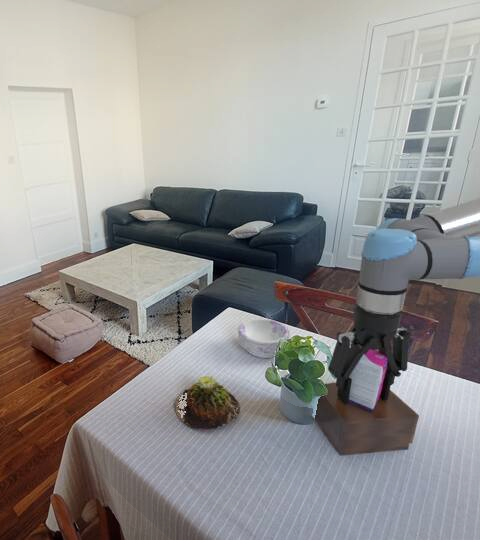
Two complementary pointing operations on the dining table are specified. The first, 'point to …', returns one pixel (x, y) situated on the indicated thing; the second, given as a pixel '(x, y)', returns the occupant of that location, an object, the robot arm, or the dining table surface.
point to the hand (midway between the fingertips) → (361, 397)
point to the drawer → (415, 419)
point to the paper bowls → (262, 336)
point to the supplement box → (368, 379)
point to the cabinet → (364, 424)
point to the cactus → (208, 405)
